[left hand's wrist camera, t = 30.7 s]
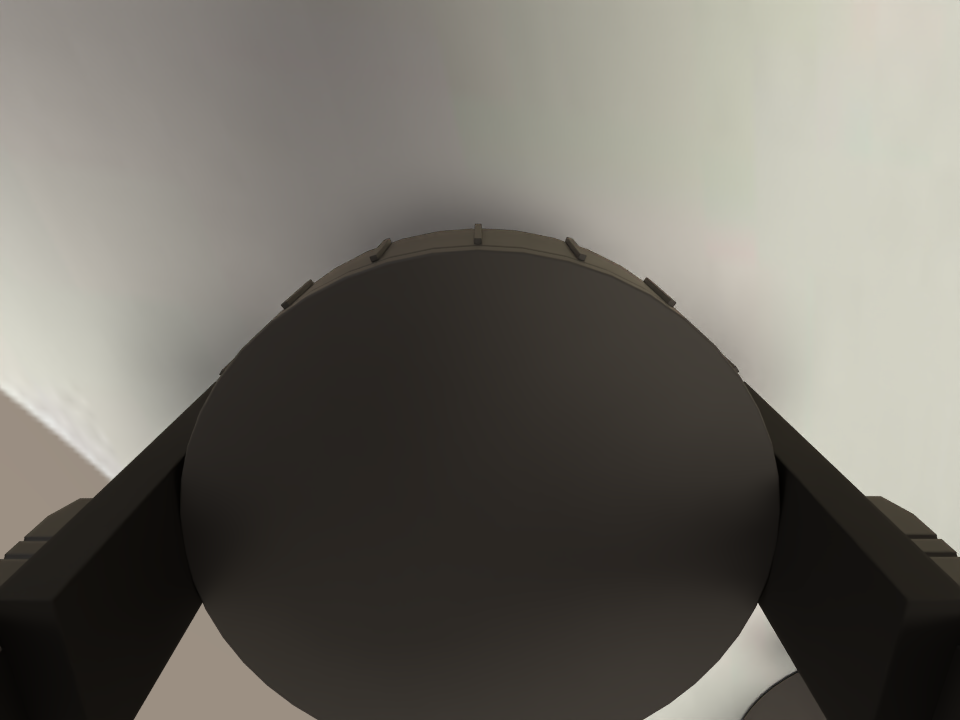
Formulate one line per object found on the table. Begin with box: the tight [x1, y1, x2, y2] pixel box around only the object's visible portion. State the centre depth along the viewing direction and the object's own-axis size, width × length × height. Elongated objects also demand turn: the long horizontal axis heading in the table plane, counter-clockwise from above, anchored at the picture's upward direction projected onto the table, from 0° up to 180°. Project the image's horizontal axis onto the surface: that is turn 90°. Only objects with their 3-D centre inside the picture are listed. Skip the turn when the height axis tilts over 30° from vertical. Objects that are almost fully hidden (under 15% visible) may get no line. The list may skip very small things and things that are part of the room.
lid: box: [180, 224, 781, 720], centre depth 11 cm, size 10×10×2 cm
